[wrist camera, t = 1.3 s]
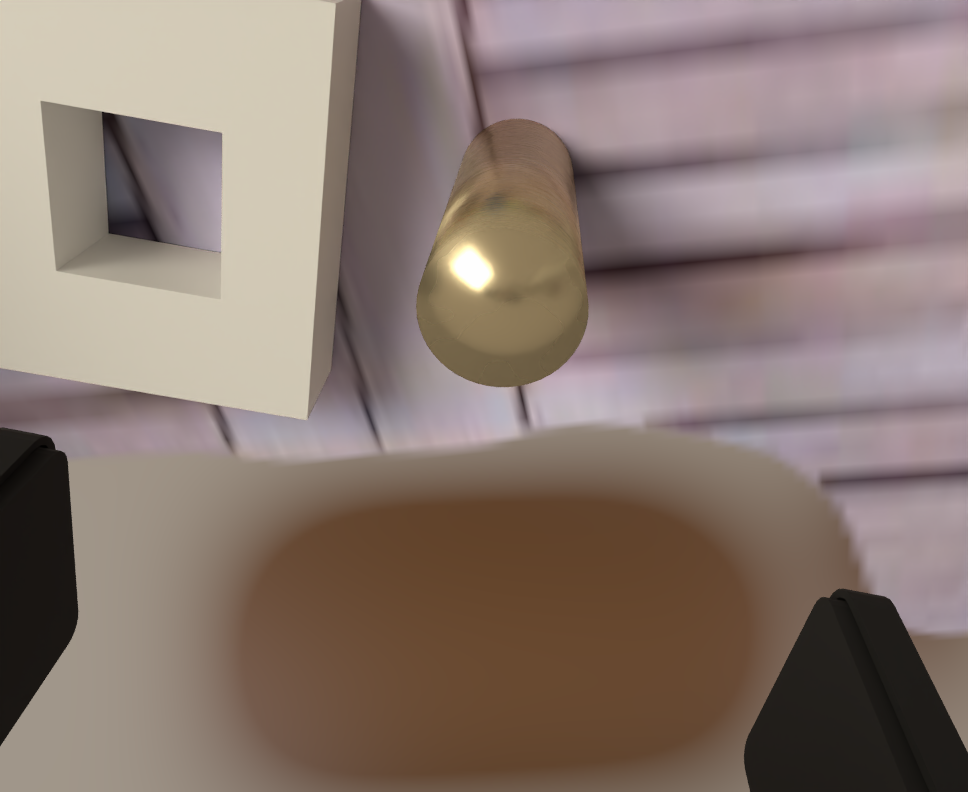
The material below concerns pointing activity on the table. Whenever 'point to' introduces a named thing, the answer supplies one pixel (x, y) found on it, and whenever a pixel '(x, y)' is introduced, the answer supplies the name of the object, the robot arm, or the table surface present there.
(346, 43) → the white square socket block
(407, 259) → the table surface
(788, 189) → the table surface
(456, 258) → the gold cylindrical peg
